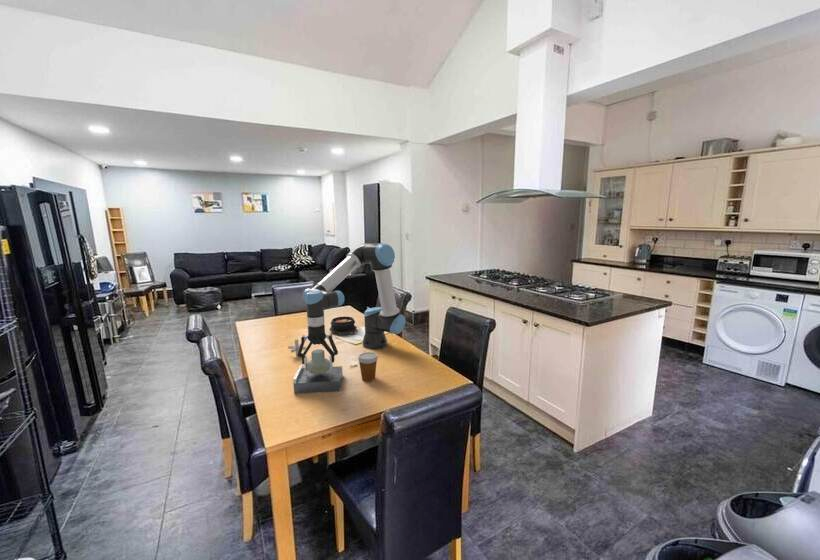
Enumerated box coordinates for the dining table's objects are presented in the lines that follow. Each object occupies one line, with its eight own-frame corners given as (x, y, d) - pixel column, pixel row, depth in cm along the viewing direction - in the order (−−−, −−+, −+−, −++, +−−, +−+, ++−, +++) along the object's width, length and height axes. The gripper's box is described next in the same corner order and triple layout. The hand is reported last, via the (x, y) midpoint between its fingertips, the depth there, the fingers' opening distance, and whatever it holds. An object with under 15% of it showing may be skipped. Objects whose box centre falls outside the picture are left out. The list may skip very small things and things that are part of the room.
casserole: (325, 328, 248) (324, 316, 247) (350, 324, 257) (349, 313, 256) (335, 338, 227) (334, 326, 225) (362, 334, 235) (361, 322, 234)
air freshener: (306, 376, 159) (305, 356, 157) (307, 369, 167) (305, 349, 165) (331, 373, 162) (330, 353, 160) (330, 366, 169) (329, 347, 168)
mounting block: (342, 375, 174) (342, 362, 173) (339, 391, 158) (338, 377, 157) (301, 377, 172) (300, 364, 171) (294, 393, 156) (293, 379, 155)
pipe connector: (301, 360, 193) (300, 343, 191) (284, 358, 195) (283, 341, 193) (309, 353, 203) (308, 337, 201) (294, 352, 205) (292, 335, 203)
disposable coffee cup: (370, 385, 164) (369, 361, 162) (354, 380, 169) (353, 357, 167) (382, 377, 172) (381, 354, 170) (367, 372, 177) (366, 350, 175)
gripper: (288, 328, 155) (291, 374, 159) (341, 326, 157) (343, 371, 161) (292, 323, 162) (295, 367, 166) (342, 321, 165) (344, 364, 169)
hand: (318, 369), depth 164 cm, fingers closed on air freshener, 11 cm apart
